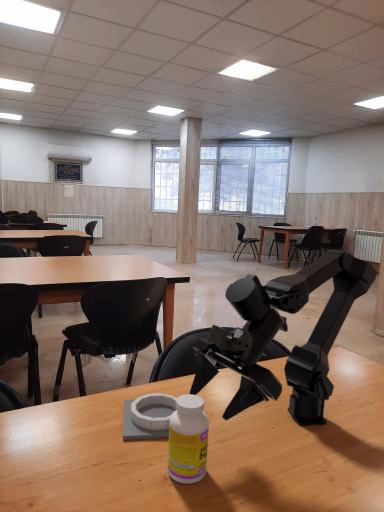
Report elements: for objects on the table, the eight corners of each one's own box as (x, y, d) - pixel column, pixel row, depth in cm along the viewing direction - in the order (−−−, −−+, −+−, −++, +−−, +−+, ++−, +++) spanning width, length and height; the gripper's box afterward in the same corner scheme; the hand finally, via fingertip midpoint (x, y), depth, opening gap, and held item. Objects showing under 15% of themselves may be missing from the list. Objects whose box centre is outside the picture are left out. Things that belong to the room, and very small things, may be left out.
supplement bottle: (202, 489, 61) (206, 414, 60) (162, 481, 62) (165, 408, 61) (208, 462, 68) (212, 394, 66) (172, 456, 69) (175, 389, 67)
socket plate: (185, 400, 89) (185, 389, 89) (194, 436, 75) (195, 422, 75) (124, 403, 87) (124, 391, 86) (122, 439, 73) (123, 426, 73)
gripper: (203, 297, 75) (152, 362, 69) (275, 323, 60) (217, 408, 54) (230, 330, 80) (185, 393, 75) (303, 361, 65) (253, 442, 60)
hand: (206, 406), depth 66 cm, fingers open, 9 cm apart
